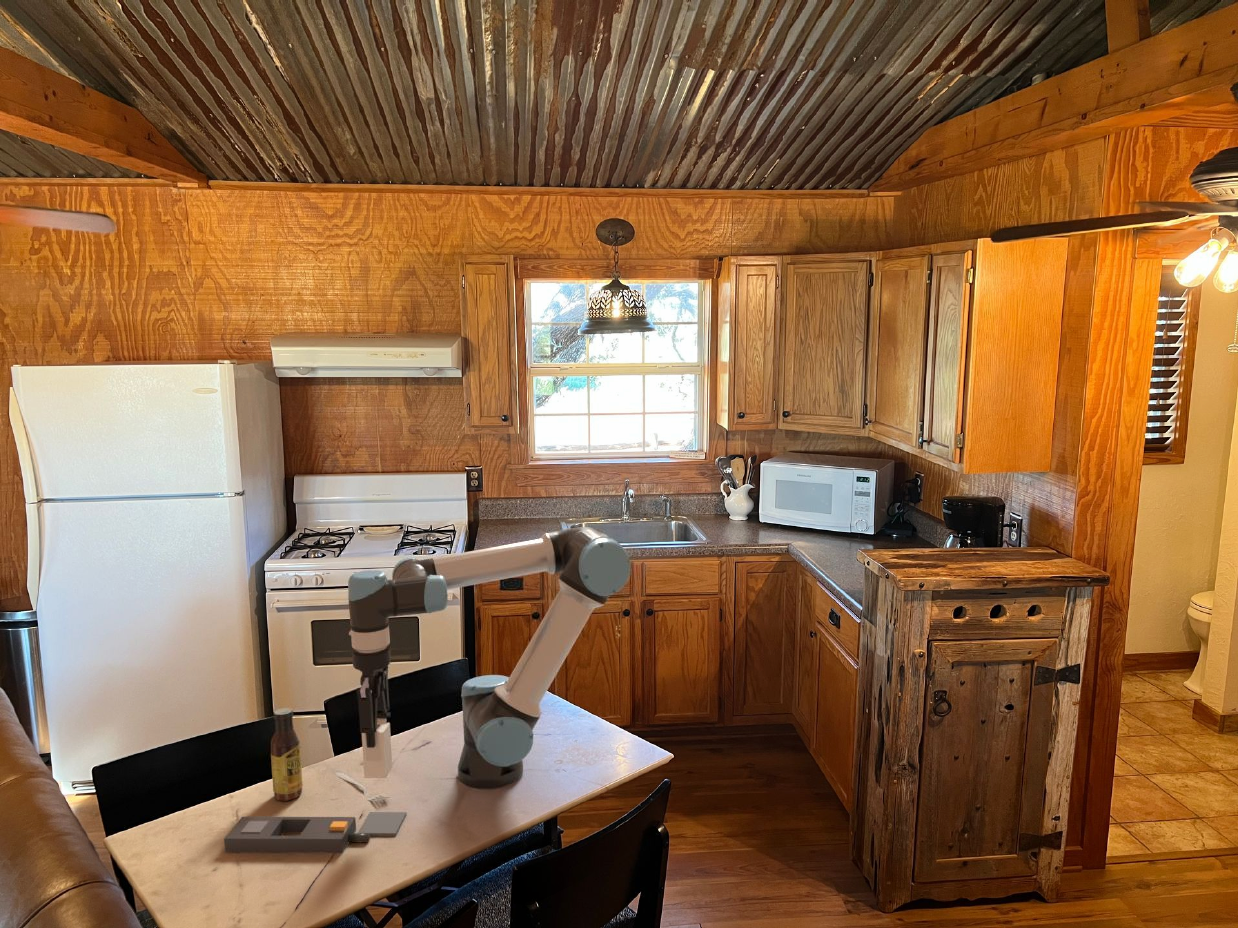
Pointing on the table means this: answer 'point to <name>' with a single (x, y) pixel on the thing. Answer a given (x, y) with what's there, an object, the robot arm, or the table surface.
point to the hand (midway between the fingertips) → (377, 753)
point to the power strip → (313, 838)
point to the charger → (385, 764)
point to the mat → (382, 823)
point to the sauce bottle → (286, 757)
